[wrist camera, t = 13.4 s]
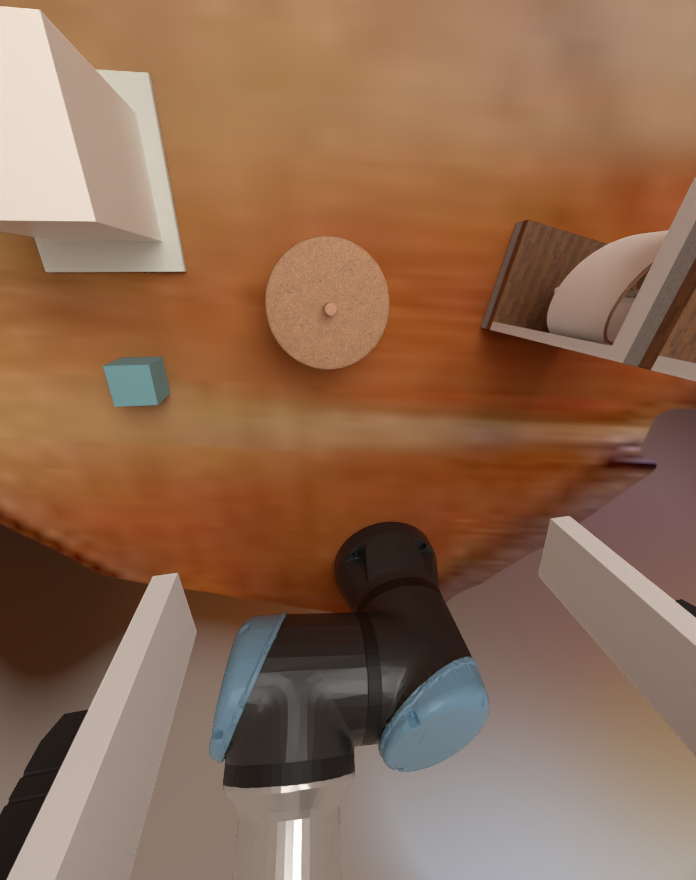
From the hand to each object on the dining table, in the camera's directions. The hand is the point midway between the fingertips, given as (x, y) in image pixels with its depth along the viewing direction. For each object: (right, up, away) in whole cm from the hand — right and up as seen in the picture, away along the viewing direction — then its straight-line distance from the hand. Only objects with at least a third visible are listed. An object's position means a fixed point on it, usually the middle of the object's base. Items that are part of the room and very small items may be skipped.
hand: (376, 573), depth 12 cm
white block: (-23, +27, +17) cm, 39 cm away
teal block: (-23, +12, +25) cm, 35 cm away
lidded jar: (-4, +19, +24) cm, 31 cm away
